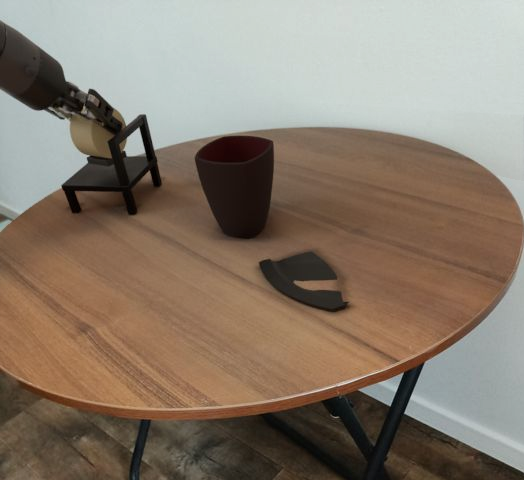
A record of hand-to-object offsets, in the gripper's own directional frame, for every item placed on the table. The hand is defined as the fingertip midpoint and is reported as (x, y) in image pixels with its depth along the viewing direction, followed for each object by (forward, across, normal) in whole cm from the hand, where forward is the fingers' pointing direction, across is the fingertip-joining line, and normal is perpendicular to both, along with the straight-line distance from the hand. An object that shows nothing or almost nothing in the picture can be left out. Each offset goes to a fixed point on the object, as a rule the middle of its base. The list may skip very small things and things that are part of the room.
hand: (107, 128), depth 85 cm
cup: (+8, -27, +9) cm, 29 cm away
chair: (+7, 0, +9) cm, 11 cm away
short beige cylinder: (+2, 0, +4) cm, 5 cm away
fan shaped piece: (-1, -42, +18) cm, 45 cm away
